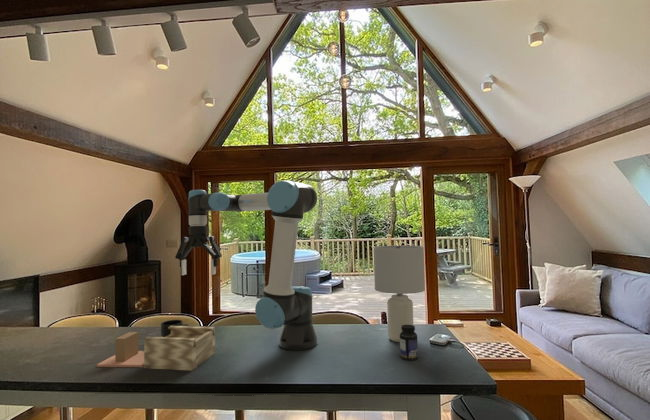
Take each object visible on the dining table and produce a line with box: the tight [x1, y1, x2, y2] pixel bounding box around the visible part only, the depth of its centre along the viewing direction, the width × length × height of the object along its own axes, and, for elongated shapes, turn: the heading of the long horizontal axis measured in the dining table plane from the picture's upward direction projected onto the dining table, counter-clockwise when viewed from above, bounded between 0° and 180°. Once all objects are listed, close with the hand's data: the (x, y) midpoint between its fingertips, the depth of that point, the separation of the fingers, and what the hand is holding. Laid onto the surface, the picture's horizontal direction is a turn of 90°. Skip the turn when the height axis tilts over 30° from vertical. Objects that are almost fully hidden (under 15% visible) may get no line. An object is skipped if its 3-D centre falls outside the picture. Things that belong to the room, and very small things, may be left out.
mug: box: [160, 319, 191, 337], centre depth 144 cm, size 8×12×10 cm
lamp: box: [373, 244, 426, 343], centre depth 148 cm, size 20×20×39 cm
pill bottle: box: [399, 324, 419, 361], centre depth 127 cm, size 6×6×11 cm
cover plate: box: [96, 331, 144, 368], centre depth 131 cm, size 16×14×9 cm
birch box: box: [143, 325, 216, 371], centre depth 129 cm, size 18×16×10 cm
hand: (198, 274), depth 154 cm, fingers open, 13 cm apart
